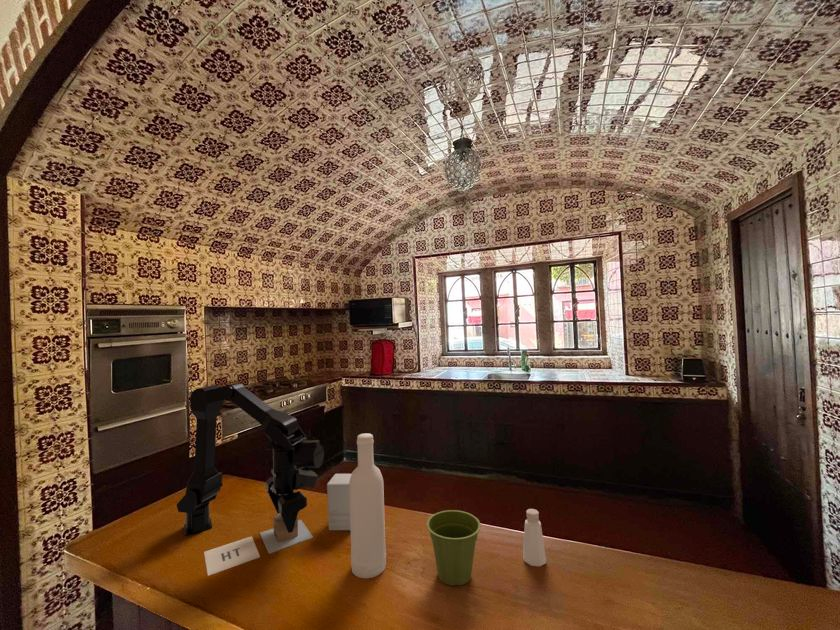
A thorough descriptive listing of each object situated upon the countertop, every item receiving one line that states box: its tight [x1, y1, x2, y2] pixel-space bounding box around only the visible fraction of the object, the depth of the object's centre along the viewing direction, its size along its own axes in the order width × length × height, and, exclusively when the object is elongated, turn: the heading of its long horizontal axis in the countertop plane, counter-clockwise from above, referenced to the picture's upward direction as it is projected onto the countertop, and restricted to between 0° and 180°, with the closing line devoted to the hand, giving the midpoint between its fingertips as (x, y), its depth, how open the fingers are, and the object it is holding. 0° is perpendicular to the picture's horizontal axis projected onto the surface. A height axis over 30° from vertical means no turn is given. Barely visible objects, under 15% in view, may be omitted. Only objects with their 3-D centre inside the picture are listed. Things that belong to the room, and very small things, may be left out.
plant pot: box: [426, 509, 482, 586], centre depth 80 cm, size 12×12×11 cm
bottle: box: [349, 432, 387, 579], centre depth 84 cm, size 8×8×30 cm
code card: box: [203, 536, 261, 577], centre depth 90 cm, size 11×11×1 cm
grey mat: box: [259, 519, 314, 555], centre depth 97 cm, size 11×11×1 cm
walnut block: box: [273, 513, 299, 543], centre depth 97 cm, size 5×5×5 cm
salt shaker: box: [522, 508, 547, 567], centre depth 84 cm, size 5×5×11 cm
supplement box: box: [326, 473, 352, 531], centre depth 102 cm, size 7×7×13 cm
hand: (285, 524), depth 97 cm, fingers open, 9 cm apart
